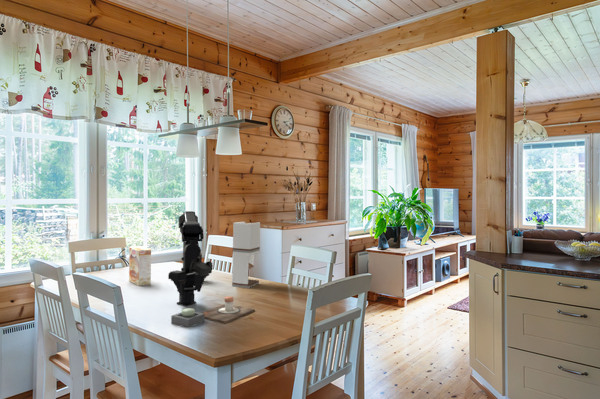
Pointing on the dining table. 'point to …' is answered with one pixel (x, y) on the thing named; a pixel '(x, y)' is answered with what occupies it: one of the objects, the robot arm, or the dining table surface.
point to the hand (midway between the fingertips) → (190, 294)
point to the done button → (188, 312)
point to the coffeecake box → (140, 265)
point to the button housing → (187, 319)
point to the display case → (244, 252)
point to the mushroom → (229, 303)
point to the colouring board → (226, 313)
